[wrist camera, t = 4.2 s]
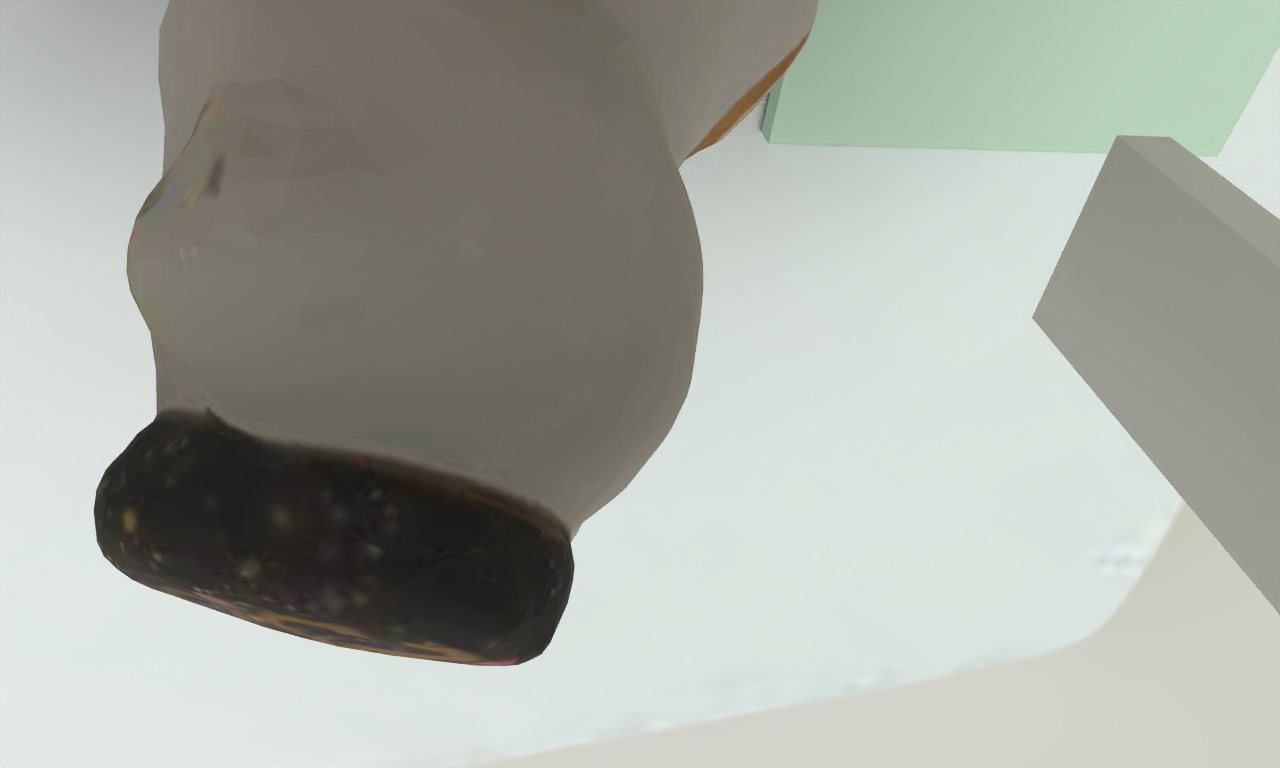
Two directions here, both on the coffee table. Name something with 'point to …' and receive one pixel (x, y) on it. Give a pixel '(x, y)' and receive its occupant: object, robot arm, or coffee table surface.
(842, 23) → the pad
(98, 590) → the coffee table surface
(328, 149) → the figurine
